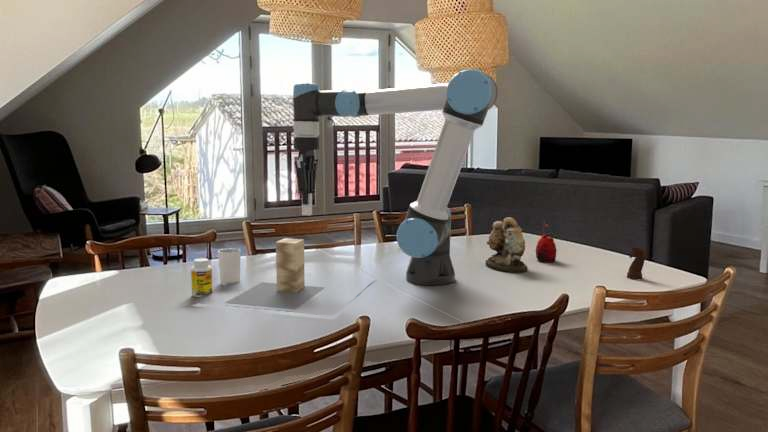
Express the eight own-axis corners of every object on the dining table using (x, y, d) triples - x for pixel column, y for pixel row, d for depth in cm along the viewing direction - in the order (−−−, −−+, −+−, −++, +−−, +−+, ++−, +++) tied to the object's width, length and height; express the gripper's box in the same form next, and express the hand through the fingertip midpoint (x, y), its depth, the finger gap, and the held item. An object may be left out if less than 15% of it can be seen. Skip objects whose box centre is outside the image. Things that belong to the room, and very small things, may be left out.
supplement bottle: (195, 299, 174) (194, 262, 172) (189, 294, 178) (188, 258, 177) (215, 296, 177) (214, 260, 175) (209, 291, 181) (207, 256, 180)
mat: (325, 290, 184) (325, 287, 184) (295, 312, 163) (295, 309, 163) (262, 284, 189) (262, 282, 189) (225, 305, 168) (225, 302, 168)
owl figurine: (474, 263, 219) (476, 214, 217) (501, 260, 225) (503, 212, 222) (508, 274, 204) (510, 222, 201) (536, 270, 209) (538, 220, 207)
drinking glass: (245, 281, 193) (244, 249, 191) (233, 286, 186) (232, 253, 185) (226, 279, 195) (225, 247, 193) (214, 284, 188) (213, 251, 187)
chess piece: (630, 275, 204) (632, 245, 203) (646, 278, 201) (648, 247, 199) (624, 277, 201) (626, 247, 199) (640, 280, 197) (642, 249, 196)
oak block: (304, 286, 184) (304, 239, 182) (296, 292, 178) (295, 243, 176) (285, 284, 186) (285, 238, 184) (276, 290, 180) (275, 242, 178)
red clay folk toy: (560, 261, 223) (562, 219, 221) (546, 264, 219) (549, 221, 217) (543, 257, 229) (545, 216, 227) (530, 259, 225) (532, 218, 223)
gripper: (303, 135, 195) (303, 211, 199) (285, 136, 183) (286, 217, 186) (326, 136, 193) (326, 212, 197) (309, 137, 181) (310, 218, 184)
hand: (307, 214), depth 191 cm, fingers closed
